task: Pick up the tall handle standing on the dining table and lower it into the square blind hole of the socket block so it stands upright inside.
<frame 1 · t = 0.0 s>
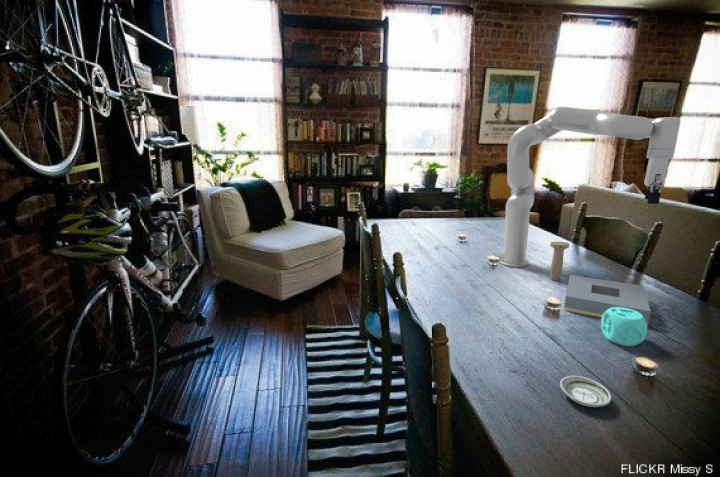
hand: (651, 201, 135), 31 cm above the table, tool pointing down, fingers open, 9 cm apart
decorative dice: (620, 339, 104), on the table
socket block: (603, 304, 125), on the table
handle: (555, 280, 147), on the table
saucer: (583, 399, 81), on the table
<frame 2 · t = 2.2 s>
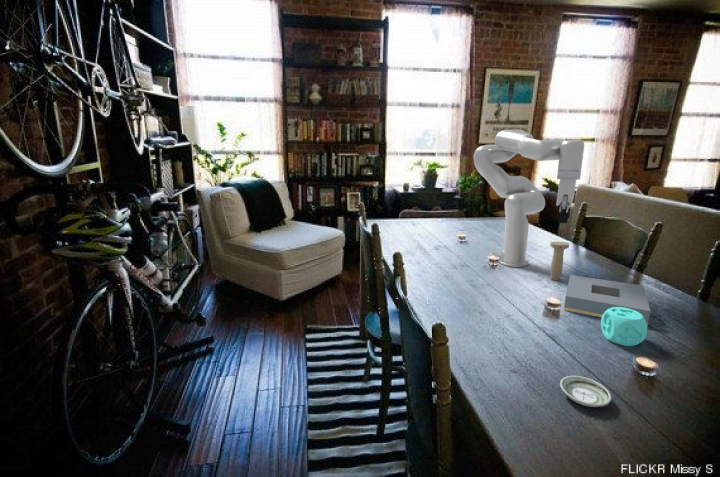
hand: (563, 220, 140), 24 cm above the table, tool pointing down, fingers open, 9 cm apart
nothing on the table moved.
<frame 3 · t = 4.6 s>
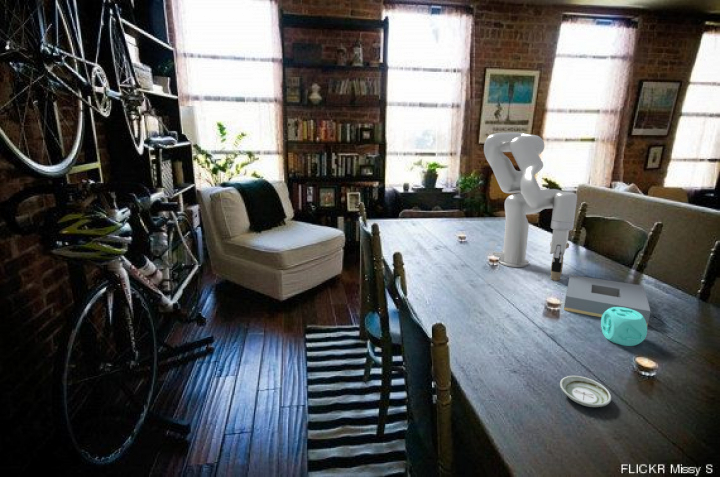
hand: (556, 269, 146), 4 cm above the table, tool pointing down, fingers closed on handle, 3 cm apart
handle: (555, 280, 147), on the table, touching gripper
everything else where it was.
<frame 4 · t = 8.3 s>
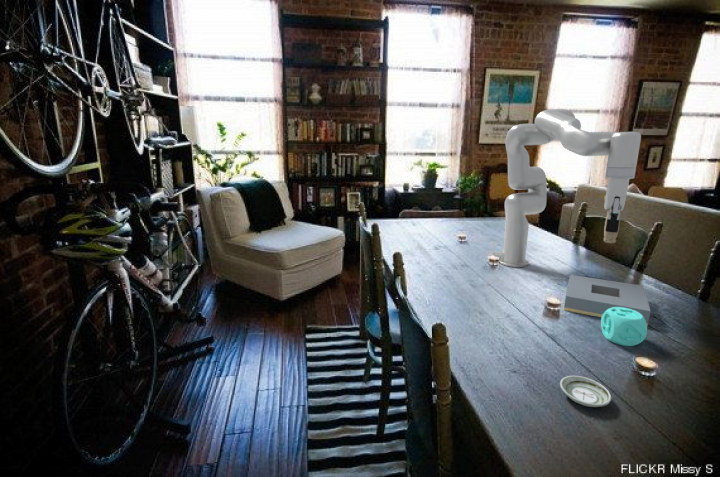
hand: (611, 229, 119), 26 cm above the table, tool pointing down, fingers closed on handle, 3 cm apart
handle: (609, 242, 121), point 21 cm above the table, touching gripper
everything else where it was.
when the fingers open (7 cm above the table, at t = 12.3 s): handle drops 2 cm, resting on socket block.
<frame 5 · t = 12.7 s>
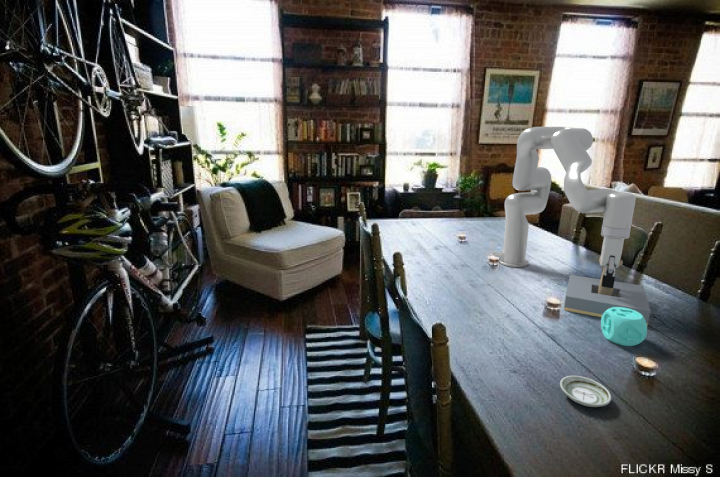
hand: (606, 282, 123), 8 cm above the table, tool pointing down, fingers open, 8 cm apart
handle: (603, 302, 125), point 1 cm above the table, touching socket block
everything else where it was.
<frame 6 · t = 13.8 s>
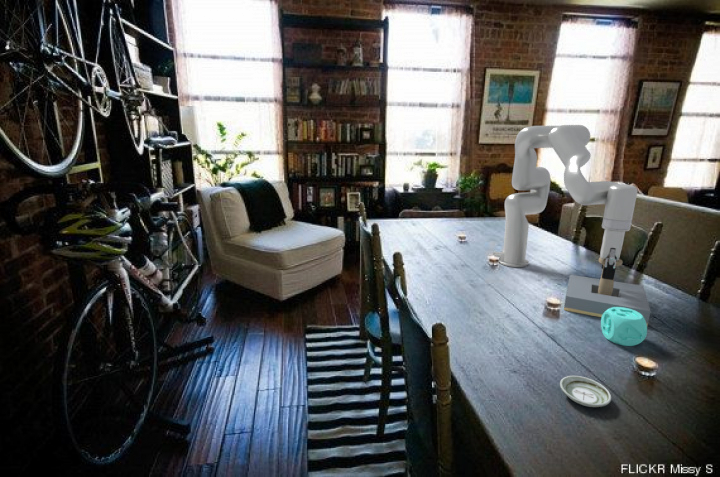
hand: (607, 274, 122), 11 cm above the table, tool pointing down, fingers open, 9 cm apart
nothing on the table moved.
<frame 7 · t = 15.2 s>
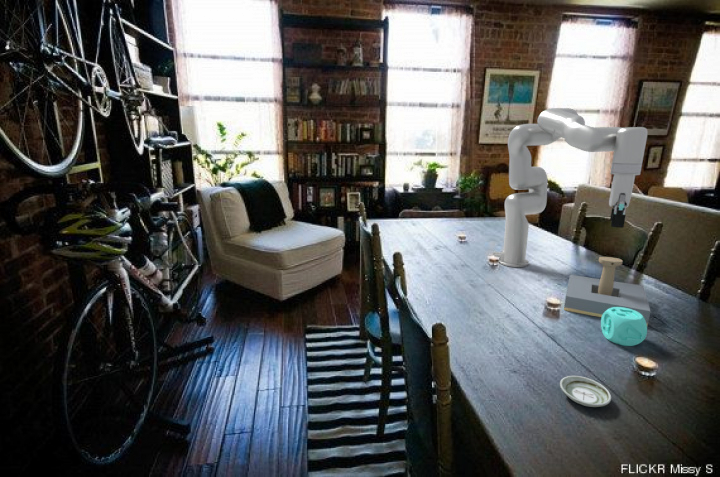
hand: (616, 223, 117), 28 cm above the table, tool pointing down, fingers open, 9 cm apart
nothing on the table moved.
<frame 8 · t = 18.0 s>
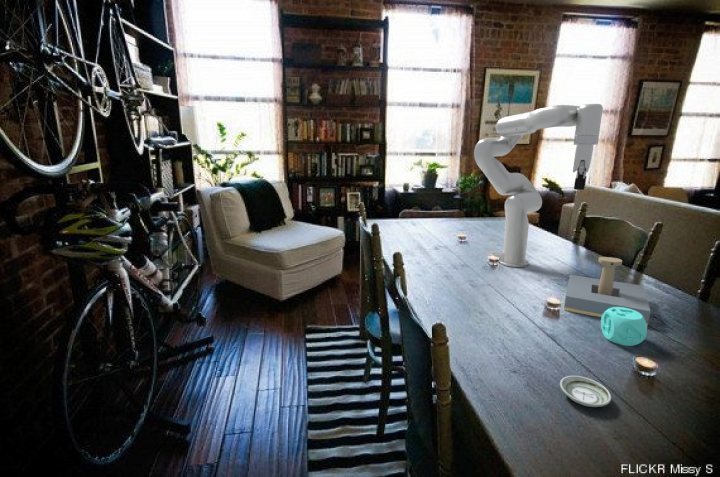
hand: (579, 187, 138), 36 cm above the table, tool pointing down, fingers open, 9 cm apart
nothing on the table moved.
at the end: handle 0.1 cm off-centre on the socket block, point 0.8 cm above the socket block's base; handle tilted 0°; the gripper is holding nothing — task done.
